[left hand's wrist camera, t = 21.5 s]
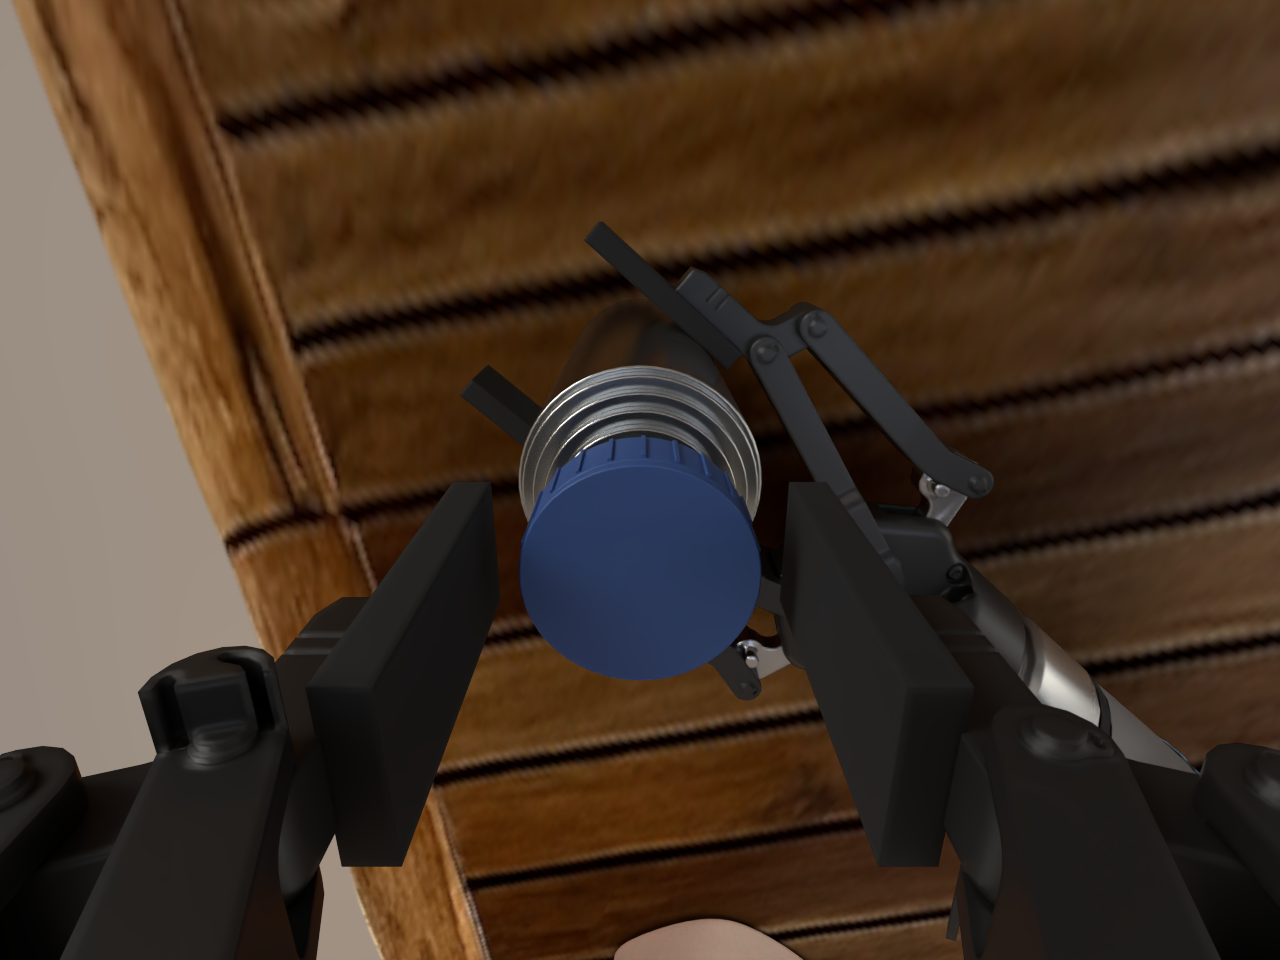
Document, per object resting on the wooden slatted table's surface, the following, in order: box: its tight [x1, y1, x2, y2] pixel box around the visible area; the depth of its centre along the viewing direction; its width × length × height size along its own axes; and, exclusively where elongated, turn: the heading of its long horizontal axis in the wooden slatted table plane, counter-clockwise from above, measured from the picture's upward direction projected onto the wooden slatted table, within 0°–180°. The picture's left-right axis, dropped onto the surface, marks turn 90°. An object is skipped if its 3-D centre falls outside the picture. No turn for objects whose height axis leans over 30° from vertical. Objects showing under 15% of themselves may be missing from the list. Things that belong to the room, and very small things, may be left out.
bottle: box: [519, 299, 762, 524], centre depth 22 cm, size 6×6×19 cm
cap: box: [519, 435, 762, 680], centre depth 14 cm, size 5×5×2 cm
